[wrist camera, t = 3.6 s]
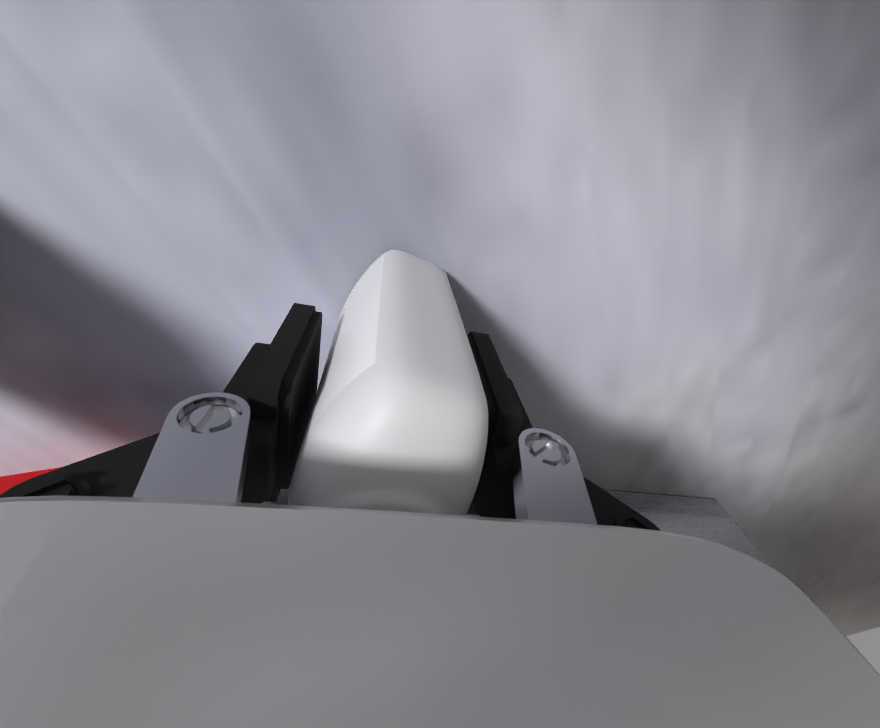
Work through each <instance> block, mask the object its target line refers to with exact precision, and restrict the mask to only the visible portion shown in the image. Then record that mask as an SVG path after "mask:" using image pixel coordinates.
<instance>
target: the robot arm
mask: <svg viewBox="0 0 880 728" xmlns="http://www.w3.org/2000/svg"><path fill="white" fill-rule="evenodd" d="M321 326H322V312H316V311H315V306H310V305H304V304H298V303H294V304H293V306H292V308H291V309H290V311H289V313H288V315H287V316H286V318H285V320H284V322H283V323H282V325H281V327H280V329H279V330H278V332H277V334H276V336H275V337H274V339H273V341H272V342H271V344H263V343H255V344H254V345H253V347H252V348H251V350H250V351H249V353H248V354H247V356H246V358H245V359H244V361H243V362H242V364H241V365H240V367H239V368H238V370H237V371H236V373H235V374H234V376H233V378H232V379H231V381H230V382H229V384H228V385H227V387H226V388H225V390H224V391H223V393H222V392H211V393H203V394H199V395H194V396H191V397H189V398H187V399H185V400H182V401H181V402H179V403H178V404H177V405H175V406H174V407H173V408H172V409H171V411H170V412H169V413H168V415H167V417H166V420H165V422H164V425H163V427H162V429H161V432H160V433H158V434H155V435H152V436H149V437H146V438H144V439H141V440H138V441H135V442H132V443H129V444H127V445H124V446H121V447H118V448H115V449H112V450H110V451H107V452H104V453H101V454H98V455H96V456H93V457H90V458H87V459H84V460H81V461H79V462H76V463H73V464H70V465H67V466H64V467H62V468H59V469H56V470H53V471H50V472H48V473H45V474H42V475H39V476H36V477H33V478H31V479H29V480H26V481H24V482H22V483H20V484H17V485H15V486H13V487H12V488H10V489H8V490H7V491H5V492H4V493H2V494H0V728H880V674H879V673H878V672H877V671H876V670H875V668H874V667H873V666H872V665H871V664H870V663H869V662H868V661H867V659H866V658H865V657H864V656H863V655H862V654H861V653H860V652H859V650H857V648H856V647H855V646H854V645H853V644H852V643H851V642H850V641H849V639H847V637H846V636H845V635H844V634H843V633H842V632H841V631H840V630H839V629H838V628H837V626H836V625H835V624H834V623H833V622H832V621H831V620H830V619H829V618H828V617H827V616H826V615H825V614H824V613H823V612H822V611H821V610H820V609H819V608H818V607H817V606H816V605H815V604H814V603H813V602H812V601H811V600H810V599H809V598H808V597H807V596H806V595H805V594H804V593H803V592H802V591H801V590H800V589H799V588H798V587H797V586H796V585H795V584H794V583H792V582H791V581H790V580H789V579H788V578H786V577H785V576H784V575H782V574H781V573H779V572H778V571H776V570H775V569H773V568H771V567H769V566H768V565H766V564H764V563H762V562H760V561H758V560H756V559H754V558H752V557H750V556H748V555H746V554H744V553H741V552H739V551H736V550H734V549H731V548H729V547H726V546H724V545H721V544H718V543H714V542H711V541H707V540H704V539H700V538H697V537H694V536H688V535H683V534H678V533H672V532H666V531H661V530H660V529H659V528H658V527H657V526H656V525H655V524H654V523H652V522H651V521H650V520H648V519H647V518H646V517H644V516H643V515H641V514H640V513H638V512H636V511H635V510H633V509H632V508H630V507H629V506H627V505H626V504H624V503H623V502H621V501H620V500H618V499H617V498H615V497H614V496H612V495H611V494H609V493H608V492H606V491H604V490H603V489H601V488H600V487H598V486H597V485H595V484H594V483H592V482H591V481H589V480H588V479H586V478H585V477H583V475H582V472H581V469H580V465H579V462H578V459H577V456H576V454H575V452H574V450H573V448H572V447H571V446H570V445H569V443H568V442H567V441H565V440H564V439H563V438H561V437H560V436H558V435H557V434H555V433H553V432H550V431H548V430H545V429H539V428H533V427H532V425H531V423H530V421H529V419H528V416H527V414H526V412H525V410H524V407H523V405H522V403H521V401H520V398H519V396H518V394H517V392H516V390H515V387H514V385H513V383H512V381H511V379H510V378H507V376H506V373H505V371H504V369H503V367H502V364H501V362H500V360H499V357H498V355H497V353H496V351H495V348H494V346H493V344H492V341H491V339H490V337H489V335H488V334H482V333H476V332H470V333H469V334H468V336H467V338H468V341H469V344H470V347H471V350H472V353H473V356H474V359H475V362H476V365H477V369H478V372H479V375H480V379H481V382H482V386H483V389H484V393H485V396H486V400H487V407H488V436H487V446H486V451H485V457H484V463H483V467H482V471H481V475H480V479H479V483H478V485H477V488H476V491H475V494H474V497H473V500H472V502H471V504H470V506H469V509H468V511H467V513H466V514H473V515H479V516H481V517H479V516H463V515H447V514H431V513H415V512H399V511H382V510H366V509H349V508H332V507H314V506H296V505H278V504H261V503H263V502H276V501H277V498H278V495H279V492H280V489H281V488H282V489H288V488H289V486H290V483H291V479H292V476H293V473H294V469H295V466H296V462H297V459H298V455H299V452H300V449H301V445H302V442H303V438H304V435H305V432H306V428H307V425H308V421H309V418H310V415H311V411H312V408H313V405H314V401H315V398H316V392H317V381H318V368H319V354H320V340H321Z"/></svg>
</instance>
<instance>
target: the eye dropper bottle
mask: <svg viewBox="0 0 880 728" xmlns="http://www.w3.org/2000/svg"><path fill="white" fill-rule="evenodd" d="M487 436H488V407H487V400H486V396H485V393H484V389H483V386H482V382H481V379H480V375H479V372H478V369H477V365H476V362H475V359H474V356H473V353H472V350H471V347H470V344H469V341H468V338H467V335H466V331H465V328H464V325H463V322H462V319H461V316H460V313H459V310H458V307H457V304H456V301H455V298H454V295H453V292H452V289H451V286H450V283H449V280H448V277H447V274H446V272H444V271H443V270H442V269H441V268H440V267H438V266H436V265H434V264H432V263H430V262H428V261H425V260H423V259H421V258H418V257H416V256H414V255H412V254H409V253H406V252H404V251H400V250H390V251H388V252H385V253H383V254H382V255H381V256H380V257H379V258H377V259H376V260H375V261H374V262H373V263H372V264H371V265H370V267H369V268H368V269H367V270H366V271H365V272H364V274H363V275H362V276H361V277H360V279H359V280H358V282H357V283H356V285H355V286H354V288H353V289H352V291H351V293H350V294H349V296H348V298H347V300H346V302H345V304H344V307H343V309H342V312H341V315H340V318H339V321H338V324H337V327H336V330H335V334H334V337H333V341H332V344H331V347H330V351H329V354H328V357H327V361H326V364H325V367H324V371H323V374H322V378H321V381H320V384H319V388H318V391H317V394H316V398H315V401H314V405H313V408H312V411H311V415H310V418H309V421H308V425H307V428H306V432H305V435H304V438H303V442H302V445H301V449H300V452H299V455H298V459H297V462H296V466H295V470H294V474H293V477H292V482H291V486H290V491H289V498H288V505H296V506H314V507H332V508H349V509H366V510H382V511H399V512H415V513H431V514H447V515H463V516H465V515H466V513H467V511H468V509H469V506H470V504H471V502H472V500H473V497H474V494H475V491H476V488H477V485H478V483H479V479H480V475H481V471H482V467H483V463H484V457H485V451H486V446H487Z"/></svg>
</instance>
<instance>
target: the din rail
mask: <svg viewBox="0 0 880 728" xmlns="http://www.w3.org/2000/svg"><path fill="white" fill-rule="evenodd" d="M604 491H606V492H608V493H609V494H611V495H612V496H614V497H615V498H617V499H618V500H620V501H621V502H623V503H624V504H626V505H627V506H629V507H630V508H632V509H633V510H635V511H636V512H638V513H640V514H641V515H643V516H644V517H646V518H647V519H648V520H650V521H651V522H652V523H654V524H655V525H656V526H657V527H658V528H659V529H660V530H661V531H666V532H672V533H678V534H683V535H688V536H694V537H697V538H700V539H704V540H707V541H711V542H714V543H718V544H721V545H724V546H726V547H729V548H731V549H734V550H736V551H739V552H741V553H744V554H746V555H748V556H750V557H752V558H754V559H756V560H758V561H760V562H762V563H764V564H766V565H768V566H769V567H771V568H773V566H772V565H771V564H770V563H769V562H768V561H767V559H766V558H765V557H764V556H763V555H762V554H761V552H760V551H759V550H758V549H757V548H756V547H755V545H754V544H753V543H752V542H751V541H750V539H749V538H748V537H747V536H746V535H745V534H744V532H743V531H742V530H741V529H740V528H739V527H738V525H737V524H736V523H735V522H734V521H733V519H732V518H731V517H730V516H729V515H728V514H727V512H726V511H725V510H724V509H723V508H722V507H721V505H720V504H719V503H718V502H717V501H716V500H715V499H708V498H695V497H683V496H671V495H658V494H646V493H634V492H622V491H609V490H604ZM465 516H479V515H473V514H466V515H465ZM479 517H481V516H479ZM773 569H774V568H773Z"/></svg>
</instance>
